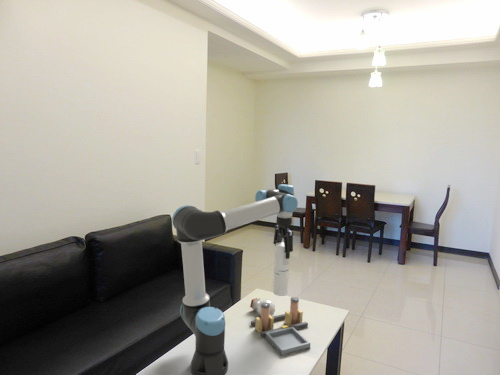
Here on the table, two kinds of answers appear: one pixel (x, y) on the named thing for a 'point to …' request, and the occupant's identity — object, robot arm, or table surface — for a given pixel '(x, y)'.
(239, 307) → the table surface
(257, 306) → the potion bottle
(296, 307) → the fuse
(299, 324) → the fuse holder
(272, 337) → the tray
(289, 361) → the table surface
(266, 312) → the cylinder
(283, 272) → the cylindrical container
